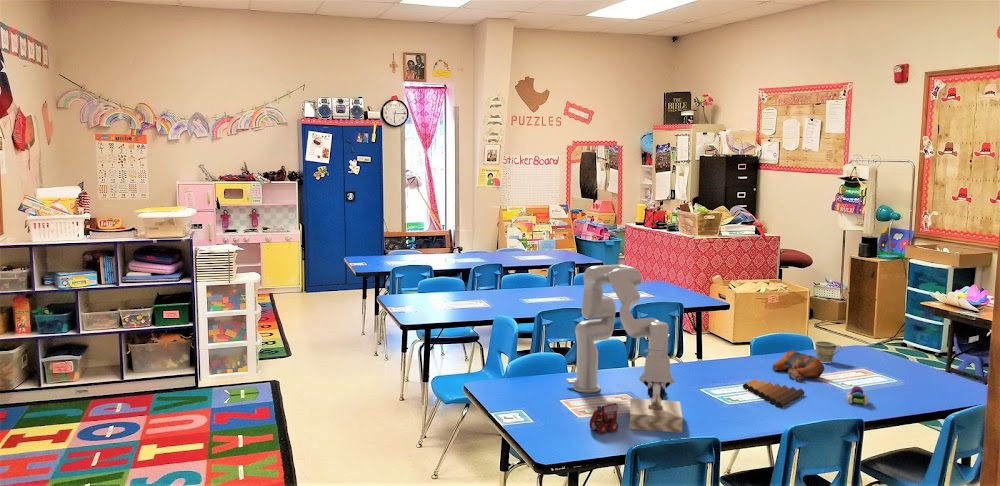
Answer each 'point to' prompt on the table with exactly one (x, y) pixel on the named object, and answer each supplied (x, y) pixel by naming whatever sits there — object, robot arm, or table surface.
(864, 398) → the multicoloured small arched block
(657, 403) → the steel peg
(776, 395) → the pan flute
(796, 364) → the orange lumpy piece
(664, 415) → the hole block
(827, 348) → the ceramic cup
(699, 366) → the table surface
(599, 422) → the toy fire truck
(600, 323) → the robot arm
